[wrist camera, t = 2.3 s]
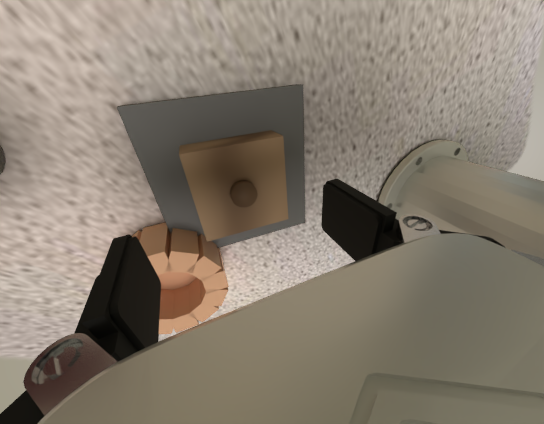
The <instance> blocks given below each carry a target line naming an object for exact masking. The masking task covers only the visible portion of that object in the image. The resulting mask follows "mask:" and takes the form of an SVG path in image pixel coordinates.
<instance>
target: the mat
mask: <svg viewBox="0 0 544 424" xmlns="http://www.w3.org/2000/svg"><path fill="white" fill-rule="evenodd" d="M117 109H118V112H119V114H120V116H121V119H122V121H123V123H124V126H125V128H126V130H127V133H128V135H129V137H130V140H131V142H132V144H133V147H134V149H135V152H136V154H137V156H138V159H139V161H140V163H141V166H142V168H143V170H144V173H145V175H146V177H147V180H148V182H149V184H150V187H151V189H152V192H153V194H154V196H155V199H156V201H157V203H158V206H159V208H160V210H161V213H162V215H163V217H164V220H165V222H166V224H167V227H168V229H169V232H170V234H171V232H172V229H173V228H177V229H183V230H189V231H195V232H197V237H198V236H199V235H200V234H203V235H204V236H205V234H204V231H203V228H202V225H201V222H200V218H199V215H198V212H197V209H196V206H195V203H194V200H193V197H192V194H191V190H190V187H189V184H188V181H187V178H186V175H185V172H184V169H183V166H182V162H181V159H180V156H179V147H180V145H186V144H192V143H198V142H204V141H210V140H216V139H222V138H228V137H233V136H239V135H245V134H251V133H257V132H263V131H269V130H272V131H274V132H276V133H278V134H280V135H282V136H283V139H284V155H285V172H286V188H287V204H288V219H287V220H283V221H280V222H276V223H273V224H269V225H265V226H262V227H258V228H255V229H251V230H248V231H244V232H240V233H237V234H233V235H230V236H226V237H223V238H219V239H215V240H212V242H213V243H215V244H216V245H217V248H219V247H222V246H226V245H229V244H233V243H236V242H240V241H243V240H247V239H250V238H253V237H257V236H260V235H264V234H267V233H271V232H274V231H278V230H281V229H284V228H288V227H291V226H295V225H298V224H302V223H305V180H304V104H303V85H291V86H282V87H274V88H265V89H257V90H249V91H240V92H232V93H224V94H215V95H207V96H198V97H190V98H182V99H173V100H165V101H157V102H148V103H140V104H131V105H123V106H118V107H117Z"/></svg>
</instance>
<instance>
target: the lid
mask: <svg viewBox="0 0 544 424" xmlns="http://www.w3.org/2000/svg"><path fill="white" fill-rule="evenodd" d="M179 156H180V159H181V162H182V166H183V169H184V172H185V175H186V178H187V181H188V184H189V187H190V190H191V194H192V197H193V200H194V203H195V206H196V209H197V212H198V215H199V218H200V222H201V225H202V228H203V231H204V234H205V237H206V240H207V242H208V241H212V240H215V239H219V238H223V237H226V236H230V235H233V234H237V233H240V232H244V231H248V230H251V229H255V228H258V227H262V226H265V225H269V224H273V223H276V222H280V221H283V220H287V219H288V204H287V188H286V172H285V155H284V139H283V136H282V135H280V134H278V133H276V132H274V131H272V130H269V131H263V132H257V133H251V134H245V135H239V136H233V137H228V138H222V139H216V140H210V141H204V142H198V143H192V144H186V145H180V147H179Z"/></svg>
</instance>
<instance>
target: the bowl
mask: <svg viewBox="0 0 544 424" xmlns="http://www.w3.org/2000/svg"><path fill="white" fill-rule="evenodd" d="M135 236H136V237H137V238H138V240H139V242H140V244H141V245H142V247H143V249H144V251H145V253H146V255H147V257H148V258H149V260H150V262H151V264H152V266H153V268H154V270H155V271H156V273H157V275H158V277H159V279H160V282H161V297H160V316H159V334H171V333H172V330H173V328H174V329H175V331H176V333H177V332H179V331H182V330H185V329H187V328H190V327H193V326H196V325H198V324H199V321H201V322H203V321H205V320H206V319H207V318H208V317H210V316H211V315H212V314H213V313H215V312H216V311H217V310H218V309H219V307H218V306H221V305H222V303H223V301H224V299H225V296H226V294H227V292H228V287H229V286H228V282H227V278H226V273H225V269H224V264H223V260H222V256H221V252H220V249H219V248H217V245H216V244H215V243H213V242H212V241H208V242H207V240H206V237H205V236H204V235H203V234H200V235H199V236H198V237H197V232H195V231H189V230H183V229H177V228H173V229H172V232H171V234H170V232H169V229H168V227H167V224H166V222H165V223H161V224H157V225H153V226H149V227H145V228H143V231H142V232H141V231H139V230H138V231H137V232H136V233H135V234H134V235H132V237H135ZM198 320H199V321H198Z"/></svg>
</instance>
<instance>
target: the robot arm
mask: <svg viewBox="0 0 544 424" xmlns="http://www.w3.org/2000/svg"><path fill="white" fill-rule="evenodd" d="M322 228H323V230H324V231H325V232H326V233H327V234H328V235H329V236H330V237H331V238H332V239H333V240H334V241H335V242H336V243H337V244H338V245H339V246H340V247H341V248H342V249H343V250H344V251H346V252H347V253H348V254H349V255H350V256H351V257H352V258H353V259H354V260H355V262H353V263H350V264H348V265H345V266H343V267H340V268H338V269H335V270H332V271H330V272H327V273H325V274H322V275H320V276H317V277H315V278H312V279H310V280H307V281H305V282H303V283H300V284H298V285H295V286H293V287H290V288H288V289H285V290H283V291H280V292H278V293H275V294H273V295H270V296H268V297H265V298H263V299H260V300H258V301H256V302H253V303H251V304H248V305H246V306H243V307H241V308H238V309H236V310H233V311H231V312H229V313H226V314H224V315H221V316H219V317H216V318H214V319H211V320H209V321H207V322H204V323H202V324H199V325H197V326H195V327H192V328H190V329H188V330H185V331H183V332H181V333H178V334H176V335H174V336H171V337H169V338H167V339H164V340H162V341H160V342H158V336H159V316H160V297H161V282H160V279H159V277H158V275H157V273H156V271H155V270H154V268H153V266H152V264H151V262H150V260H149V258H148V257H147V255H146V253H145V251H144V249H143V247H142V245H141V244H140V242H139V240H138V238H137V237H136V236H135V237H132V236H131V235H126V236H122V237H118V238H115V239H113V241H112V244H111V246H110V249H109V252H108V254H107V257H106V259H105V262H104V265H103V267H102V270H101V273H100V275H99V276H97V278H96V279H95V282H94V284H93V287H92V290H91V292H90V295H89V297H88V300H87V302H86V305H85V308H84V310H83V313H82V315H81V318H80V320H79V323H78V325H77V328H76V331H75V333H74V334H71V335H68V336H65V337H63V338H61V339H59V340H57V341H56V342H54V343H53V344H52V345H50V346H49V347H47V348H46V349H45V350H44V351H43V352H42V353H41V354H39V355H38V357H37V358H36V359H35V360H34V361H33V362H32V364H31V365H30V367H29V368H28V370H27V372H26V374H25V377H24V386H25V389H26V391H25V392H24V393H23V394H22V395H21V396H20V397H18V398H17V399H16V400H15V401H14V402H13V403H12V404H11V405H10V406H9V407H7V408H6V409H5V410H4V411H3V412H2V413H1V414H0V424H544V181H540V180H537V179H533V178H529V177H525V176H521V175H518V174H514V173H510V172H506V171H502V170H499V169H495V168H491V167H487V166H483V165H479V164H476V163H472V162H468V156H467V152H466V150H465V149H464V147H463V146H462V145H461V144H459V143H458V142H454V141H449V140H435V141H431V142H428V143H426V144H424V145H422V146H420V147H419V148H417V149H416V150H414V151H413V152H411V153H410V154H409V155H408V156H407V157H406V158H405V159H403V160H402V162H401V163H400V164H399V165H398V166H397V167H396V168H395V170H394V171H393V172H392V174H391V175H390V177H389V178H388V180H387V182H386V183H385V185H384V187H383V189H382V192H381V194H380V197H379V201H378V202H377V201H376V200H374V199H372V198H370V197H368V196H367V195H365V194H363V193H361V192H360V191H358V190H356V189H354V188H353V187H351V186H349V185H347V184H346V183H344V182H342V181H340V180H339V179H334V180H330V181H327V182H326V184H325V185H324V187H323V206H322Z"/></svg>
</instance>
